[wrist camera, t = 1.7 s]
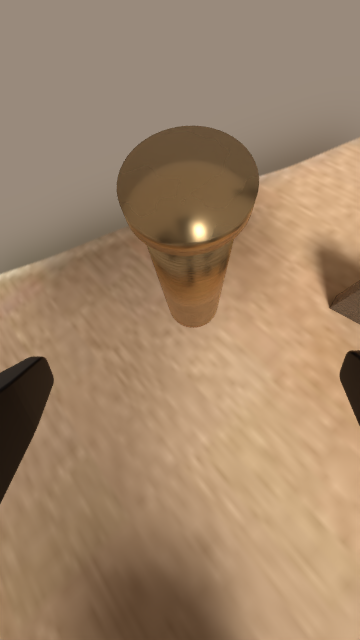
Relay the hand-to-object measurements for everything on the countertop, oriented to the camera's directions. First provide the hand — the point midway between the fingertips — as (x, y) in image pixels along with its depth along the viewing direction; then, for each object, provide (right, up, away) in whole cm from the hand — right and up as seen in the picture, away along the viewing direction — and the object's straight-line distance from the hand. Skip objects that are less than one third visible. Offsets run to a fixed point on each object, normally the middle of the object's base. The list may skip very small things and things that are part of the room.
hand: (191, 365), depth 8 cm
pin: (+1, +3, +13) cm, 14 cm away
